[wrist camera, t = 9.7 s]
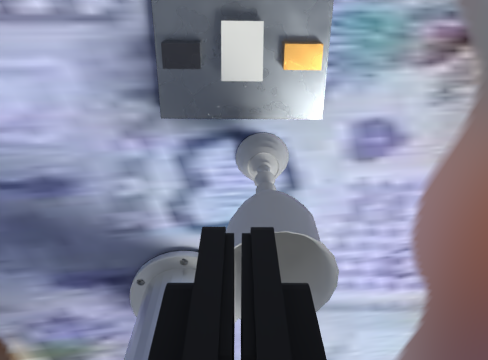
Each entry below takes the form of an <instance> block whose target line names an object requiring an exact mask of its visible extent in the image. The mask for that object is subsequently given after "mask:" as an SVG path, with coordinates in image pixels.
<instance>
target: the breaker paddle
mask: <svg viewBox="0 0 488 360" xmlns="http://www.w3.org/2000/svg"><path fill="white" fill-rule="evenodd" d="M263 35H264V21H221V81H243V82H262V81H263Z"/></svg>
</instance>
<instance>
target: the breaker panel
mask: <svg viewBox="0 0 488 360" xmlns="http://www.w3.org/2000/svg"><path fill="white" fill-rule="evenodd" d="M151 1H152V13H153V26H154V38H155V50H156V63H157V75H158V87H159V100H160V112H161V118H175V119H307V120H322V116H323V105H324V95H325V84H326V74H327V63H328V53H329V42H330V32H331V22H332V11H333V1H334V0H151ZM221 21H264V35H263V81H262V82H243V81H221Z"/></svg>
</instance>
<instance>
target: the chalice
mask: <svg viewBox="0 0 488 360" xmlns="http://www.w3.org/2000/svg"><path fill="white" fill-rule="evenodd" d="M236 163H237V166H238V168H239V170H240V171H241V172H242V173H243V174H244V175H245V176H246V177H248V178H249V179H251V180H253V181H254V183H255V185H256V186H257V188H256V194H255V195H253V196H252V197H250V198H249V199H248V200H246V201H245V202H244V203H243V204H242V205H241V207H240V208H239V209H238V210H237V212H236V213H235V214H234V216H233V217H232V218H231V220H230V222H229V225H228V227H227V230H226V233H234V317H236V318H238V319H241V255H242V233H250V230H251V227H274V233H275V240H276V247H277V254H278V262H279V269H280V276H281V283H308V284H309V286H310V290H311V294H312V298H313V303H314V307H315V311H316V312H317V311H318V310H319V309H320V308H321V307H322V306H323V305H324V304H325V303H326V302H328V301H329V299H330V298H331V296H332V294H333V292H334V290H335V289H336V287H337V281H338V273H339V270H338V267H337V264H336V260H335V257H334V255H333V254H332V253H331V252H330V251H329V250H328V249H327V248H326V246H325V245H324V244H323V243H321V242H320V238H319V235H318V231H317V228H316V225H315V222H314V219H313V216H312V214H311V213H310V212H309V211H308V210H307V208H306V207H305V206H304V205H303V204H301V203H300V202H299V201H297V200H296V199H295V198H293V197H291V196H289V195H288V194H286V193H283V192H280V191H276V188H275V185H274V183H275V179H276V178H277V177H278V176H279V175H280V174H281V173H282V172H283V170H284V169H285V168H286V166H287V163H288V150H287V147H286V145H285V144H284V142H283V141H282V140H281V139H280V138H278V137H277V136H275V135H273V134H269V133H256V134H254V135H251V136H249V137H247V138H246V139H245V140H243V141H242V143H241V144H240V145H239V147H238V149H237V153H236Z"/></svg>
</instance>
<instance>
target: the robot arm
mask: <svg viewBox="0 0 488 360" xmlns="http://www.w3.org/2000/svg"><path fill="white" fill-rule="evenodd" d="M129 298H130V305H131V308H132V310H133V313H134V314H135V316H136V317H137V318H136V321H135V325H134V328H133V331H132V335H131V338H130V341H129V344H128V348H127V351H126V354H125V358H124V360H234V324H235V322H236V321H237V319H238V318H236V317H234V233H226V228H225V227H202V232H201V239H200V245H199V252H194V251H174V252H168V253H165V254H161V255H159V256H157V257H155V258H153V259H151V260H149V261H148V262H147V263H145V264H144V265H143V266H142V267H141V268H140V269H139V271H138V272H137V273H136V275H135V277H134V279H133V282H132V285H131V288H130V296H129ZM241 360H327V359H326V355H325V351H324V346H323V342H322V338H321V333H320V329H319V325H318V320H317V316H316V311H315V307H314V303H313V298H312V294H311V290H310V286H309V284H308V283H281V276H280V269H279V262H278V254H277V247H276V240H275V233H274V227H251V230H250V233H242V255H241Z"/></svg>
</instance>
